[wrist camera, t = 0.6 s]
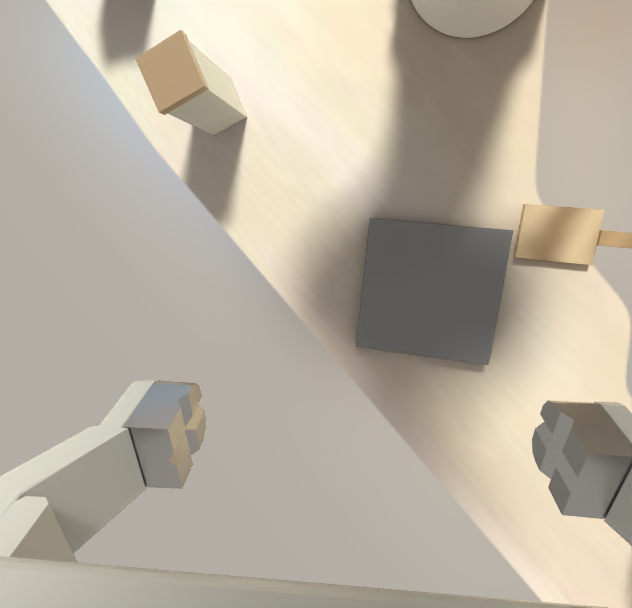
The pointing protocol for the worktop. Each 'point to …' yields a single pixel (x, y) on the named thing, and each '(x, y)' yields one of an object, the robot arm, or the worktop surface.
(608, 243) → the beech turner
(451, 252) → the slate tile
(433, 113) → the worktop surface
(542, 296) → the worktop surface
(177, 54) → the grey canister
